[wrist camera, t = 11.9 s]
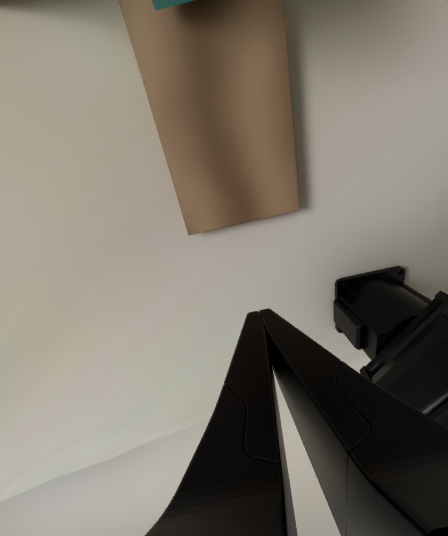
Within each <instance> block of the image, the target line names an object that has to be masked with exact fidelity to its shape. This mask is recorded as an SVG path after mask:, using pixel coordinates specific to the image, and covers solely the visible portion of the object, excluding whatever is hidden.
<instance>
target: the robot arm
mask: <svg viewBox="0 0 448 536" xmlns="http://www.w3.org/2000/svg"><path fill="white" fill-rule="evenodd" d="M398 271H399V272H398ZM405 272H406V271H405V269H404V268H402V267H400V266H396V267H392V268H387V269H383V270H378V271H373V272H369V273H364V274H359V275H355V276H350V277H346V278H341V279H338V280H337V281H336V282H335V300H334V302H333V304H334V322H335V328H336V330H337V331H338V332H339V333H344V334H345V336H346V337H347V338H348V339H349V341H350V342H351V343H352V345H353V346H354V347H355V348H356V349H358V350H360V349H362V350H363V351H364V352H365V353H366V354H367V356H368V357H369V358H370V359H371V361H370V362H369V363H368V364H367V365H366V366H363V367H362V368H361V369H360V373H361V374H360V373H358V372H357V371H355V370H354V369H353V368H351V367H350V366H348V365H347V364H346V363H344V362H343V361H340V359H339V358H337V357H336V356H334V355H333V354H332V353H330V352H329V351H328V350H326V349H325V348H323V347H322V346H321V345H319V344H318V343H317V342H315V341H314V340H312V339H311V338H310V337H308V336H307V335H305V334H304V333H303V332H301V331H300V330H299V329H297V328H296V327H294V326H293V325H292V324H290V323H289V322H287V321H286V320H285V319H283V318H282V317H281V316H279V315H278V314H276V313H275V312H274V311H272V310H271V309H264V310H260V311H259V312H258V311H254V312H250V313H248V314H247V316H246V319H245V322H244V325H243V328H242V331H241V334H240V337H239V340H238V343H237V346H236V349H235V352H234V355H233V358H232V361H231V364H230V367H229V370H228V372H227V375H226V378H225V381H224V385H223V387H222V390H221V393H220V396H219V399H218V401H217V404H216V407H215V409H214V412H213V414H212V417H211V419H210V421H209V423H208V426H207V428H206V430H205V432H204V434H203V437H202V439H201V441H200V443H199V445H198V447H197V449H196V451H195V453H194V455H193V458H192V460H191V462H190V464H189V466H188V468H187V470H186V472H185V474H184V477H183V479H182V481H181V483H180V485H179V487H178V489H177V491H176V493H175V495H174V496H173V498H172V500H171V502H170V504H169V505H168V507H167V508H166V510H165V511H164V513H163V514H162V516H161V517H160V518H159V519H158V521H157V522H156V523H155V524H154V526H153V527H152V528H151V529H150V530H149V531H148V532H147V534H146V535H145V536H297V529H296V522H295V515H294V509H293V502H292V496H291V488H290V481H289V475H288V468H287V461H286V454H285V448H284V442H283V434H282V428H281V421H280V414H279V407H278V400H277V394H276V387H275V380H274V374H275V376H276V379H277V381H278V384H279V386H280V388H281V391H282V393H283V396H284V398H285V401H286V403H287V406H288V408H289V410H290V413H291V415H292V417H293V420H294V423H295V425H296V427H297V430H298V432H299V435H300V437H301V440H302V442H303V444H304V447H305V449H306V452H307V454H308V457H309V459H310V461H311V464H312V466H313V468H314V471H315V473H316V476H317V478H318V481H319V483H320V486H321V488H322V491H323V493H324V495H325V498H326V500H327V503H328V505H329V508H330V510H331V512H332V515H333V517H334V520H335V522H336V524H337V527H338V530H339V532H340V534H341V536H448V294H446V293H444V292H442V291H439V292H438V293H437V294H436V295H435V298H434V299H433V300H430V299H428V298H427V297H425V296H423V295H422V294H420V293H418V292H417V291H415V290H414V289H412V288H410V287H409V286H407V285H405V284H404V279H405ZM341 283H343V284H342V285H340V284H341ZM272 368H273V369H272ZM273 371H274V374H273Z"/></svg>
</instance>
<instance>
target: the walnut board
mask: <svg viewBox="0 0 448 536" xmlns="http://www.w3.org/2000/svg"><path fill="white" fill-rule="evenodd" d="M119 3H120V6H121V10H122V13H123V16H124V20H125V23H126V26H127V30H128V33H129V36H130V40H131V43H132V46H133V50H134V53H135V57H136V60H137V63H138V67H139V70H140V73H141V77H142V80H143V83H144V87H145V90H146V94H147V97H148V100H149V104H150V107H151V110H152V114H153V117H154V120H155V124H156V127H157V130H158V134H159V137H160V141H161V144H162V147H163V151H164V154H165V157H166V161H167V164H168V167H169V171H170V174H171V178H172V181H173V184H174V188H175V191H176V194H177V198H178V201H179V204H180V208H181V211H182V214H183V218H184V221H185V225H186V228H187V231H188V235H193V234H197V233H201V232H206V231H210V230H214V229H219V228H223V227H227V226H231V225H236V224H240V223H244V222H249V221H253V220H257V219H262V218H266V217H270V216H275V215H279V214H283V213H288V212H292V211H296V210H299V198H298V185H297V171H296V158H295V145H294V132H293V119H292V105H291V92H290V79H289V66H288V53H287V39H286V26H285V13H284V0H194V1H190V2H186V3H183V4H179V5H175V6H172V7H168V8H164V9H160V10H157V11H155V8H154V5H153V3H152V0H119Z"/></svg>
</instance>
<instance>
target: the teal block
mask: <svg viewBox="0 0 448 536" xmlns="http://www.w3.org/2000/svg"><path fill="white" fill-rule="evenodd" d="M190 1H194V0H152V3H153V5H154V8H155V11H157V10H160V9H164V8H168V7H172V6H175V5H179V4H183V3H186V2H190Z"/></svg>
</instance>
